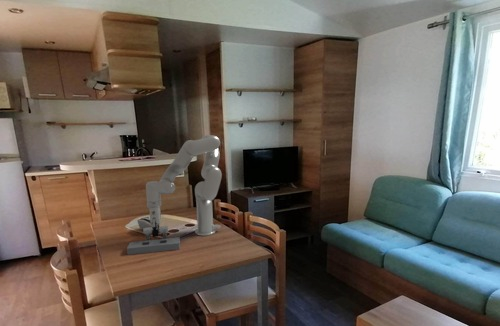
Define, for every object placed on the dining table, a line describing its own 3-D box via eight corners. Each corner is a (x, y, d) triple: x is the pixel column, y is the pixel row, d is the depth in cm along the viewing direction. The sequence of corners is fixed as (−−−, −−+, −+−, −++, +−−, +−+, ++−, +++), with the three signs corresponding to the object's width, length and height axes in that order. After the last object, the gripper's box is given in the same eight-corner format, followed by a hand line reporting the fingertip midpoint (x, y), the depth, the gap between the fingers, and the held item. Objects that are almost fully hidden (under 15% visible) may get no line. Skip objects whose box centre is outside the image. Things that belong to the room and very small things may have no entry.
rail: (179, 243, 155) (179, 237, 154) (179, 249, 147) (179, 243, 147) (130, 248, 149) (130, 242, 149) (127, 255, 142) (126, 248, 141)
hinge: (162, 232, 171) (157, 219, 167) (156, 237, 168) (151, 223, 164) (147, 226, 181) (141, 214, 177) (141, 231, 178) (135, 218, 174)
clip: (168, 239, 160) (167, 225, 159) (168, 241, 157) (167, 227, 156) (145, 242, 157) (144, 227, 156) (144, 244, 154) (143, 229, 153)
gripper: (159, 207, 146) (161, 239, 149) (162, 198, 163) (164, 228, 166) (144, 208, 145) (147, 241, 147) (149, 199, 161) (151, 229, 164)
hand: (156, 233), depth 156 cm, fingers open, 5 cm apart
